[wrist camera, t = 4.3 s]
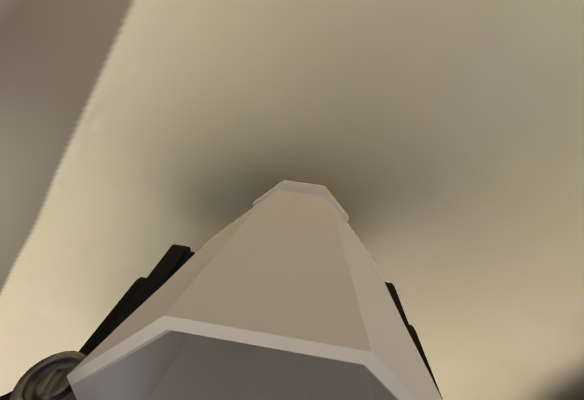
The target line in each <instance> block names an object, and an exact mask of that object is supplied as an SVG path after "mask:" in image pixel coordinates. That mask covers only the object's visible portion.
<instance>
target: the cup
mask: <svg viewBox="0 0 584 400" xmlns="http://www.w3.org/2000/svg"><path fill="white" fill-rule="evenodd" d="M348 221H349V217H348V214H347V213H346V212H345V211H344V209H343V208H342V207H341V206H340V204H339V203H338V202H337V201H336V199H335V198H334V197H333V196H332V194H331V193H330V192H329V191H328V189H327V188H326V187H325V186H324V185H317V184H310V183H303V182H296V181H288V180H283V181H281V182H280V183H279V184H277V185H276V186H274V187H273V188H272V189H270V190H269V191H268V192H266V193H265V194H264V195H262V196H261V197H259V198H258V199H257V200H255V201H254V202H253V204H252V209H250V210H249V211H247V212H246V213H245V214H243V215H242V216H241V217H239V218H238V219H236V220H235V221H234V222H232V223H231V224H229V225H228V226H227V227H225V228H224V229H223V230H221V231H220V232H218V233H217V234H216V235H214V236H213V237H212V238H211V239H210V240H208V241H207V242H206V243H205V244H204V245H203V246H202V247H201V248H200V249H199V250H198V251H197V252H196V253H195V254H194V255H193V256H192V257H191V258H190V259H189V260H188V261H187V262H186V263H185V264H184V265H183V266H182V267H181V268H180V269H179V270H178V271H177V272H176V273H175V274H174V275H173V276H172V277H171V278H170V279H169V280H168V281H167V282H165V283H164V284H163V285H162V286H161V287H160V288H159V289H158V290H157V291H156V292H155V293H154V294H153V295H151V296H150V297H149V298H148V299H147V300H146V301H145V302H144V303H143V304H142V305H141V306H140V307H139V308H137V309H136V310H135V311H134V312H133V313H132V314H131V315H130V316H129V317H128V318H127V319H126V320H125V321H123V322H122V323H121V324H120V325H119V326H118V327H117V328H116V329H115V330H114V331H113V332H112V333H111V334H110V335H109V336H108V337H107V338H106V339H105V340H104V341H103V342H102V343H101V344H100V345H99V346H97V347H96V348H95V349H94V350H93V351H92V352H91V353H90V354H89V355H88V356H87V357H86V358H85V359H84V360H83V361H82V362H81V363H80V364H79V365H78V366H77V367H76V368H75V369H74V370H73V371H71V372H70V373H69V374H68V375H67V378H68V381H69V383H70V385H71V387H72V390H73V392H74V394H75V396H76V399H77V400H442V398H441V396H440V394H439V392H438V390H437V388H436V386H435V384H434V382H433V379H432V377H431V375H430V373H429V371H428V369H427V367H426V366H425V364H424V362H423V360H422V358H421V356H420V354H419V352H418V350H417V348H416V346H415V344H414V342H413V340H412V338H411V336H410V334H409V332H408V330H407V328H406V326H405V324H404V322H403V320H402V318H401V316H400V314H399V312H398V310H397V307H396V305H395V303H394V301H393V299H392V297H391V295H390V293H389V291H388V289H387V286H386V284H385V282H384V280H383V278H382V276H381V274H380V272H379V270H378V267H377V265H376V263H375V262H374V260H373V259H372V257H371V256H370V254H369V253H368V251H367V250H366V249H365V247H364V246H363V244H362V243H361V241H360V240H359V238H358V237H357V235H356V234H355V232H354V231H353V230H352V228H351V227H350V226H349V225H348Z"/></svg>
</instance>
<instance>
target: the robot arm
mask: <svg viewBox="0 0 584 400" xmlns="http://www.w3.org/2000/svg"><path fill="white" fill-rule="evenodd" d="M194 254H195V253H194V252H191V250H190V247H186V246H181V245H175V244H174V245H172V246H171V247H170V249H169V250H168V251H167V253H166V254H165V255H164V256H163V258H162V259H161V260H160V262H159V263H158V264H157V266H156V267H155V268H154V270H153V271H152V272H151V273H150V275H149V276H148V277H147V278H143V277H141V278H139V279H137V280H136V281H135V282H134V284H133V285H132V286H131V287H130V289H129V290H128V291H127V292H126V294H125V295H124V296H123V297H122V299H121V300H120V301H119V302H118V304H117V305H116V306H115V307H114V308H113V310H112V311H111V312H110V313H109V315H108V316H107V317H106V318H105V320H104V321H103V322H102V323H101V325H100V326H99V327H98V328H97V329H96V331H95V332H94V333H93V334H92V336H91V337H90V338H89V339H88V341H87V342H86V343H85V344H84V346H83V347H82V348H81V349H80V351H79V352H77V351H65V352H61V353H58V354H54V355H52V356H49V357H47V358H45V359H43V360H41V361H40V362H38V363H37V364H36V365H34V366H33V367H31V368H30V369H29V370H28V371H27V372H26V373H25V374H24V375H23V376H22V377H21V378H20V380H19V381H18V383H17V384H16V386H15V388H14V390H13V391H12V392H10V393H7V394H5V395H3V396H1V397H0V400H77V399H76V396H75V394H74V392H73V390H72V387H71V385H70V383H69V381H68V378H67V375H68V374H69V373H70V372H71V371H73V370H74V369H75V368H76V367H77V366H78V365H79V364H80V363H81V362H82V361H83V360H84V359H85V358H86V357H87V356H88V355H89V354H90V353H91V352H92V351H93V350H94V349H95V348H96V347H97V346H99V345H100V344H101V343H102V342H103V341H104V340H105V339H106V338H107V337H108V336H109V335H110V334H111V333H112V332H113V331H114V330H115V329H116V328H117V327H118V326H119V325H120V324H121V323H122V322H123V321H125V320H126V319H127V318H128V317H129V316H130V315H131V314H132V313H133V312H134V311H135V310H136V309H137V308H139V307H140V306H141V305H142V304H143V303H144V302H145V301H146V300H147V299H148V298H149V297H150V296H151V295H153V294H154V293H155V292H156V291H157V290H158V289H159V288H160V287H161V286H162V285H163V284H164V283H165V282H167V281H168V280H169V279H170V278H171V277H172V276H173V275H174V274H175V273H176V272H177V271H178V270H179V269H180V268H181V267H182V266H183V265H184V264H185V263H186V262H187V261H188V260H189V259H190V258H191V257H192V256H193V255H194ZM385 284H386V286H387V289H388V291H389V293H390V295H391V297H392V299H393V301H394V303H395V305H396V307H397V310H398V312H399V314H400V316H401V318H402V320H403V322H404V324H405V326H406V328H407V330H408V332H409V334H410V336H411V338H412V340H413V342H414V344H415V346H416V348H417V350H418V352H419V354H420V356H421V358H422V360H423V362H424V364H425V366H426V367H427V369H428V371H429V373H430V375H431V377H432V379H433V382H434V384H435V386H436V388H437V390H438V392H439V389H438V387H437V384H436V382H435V379H434V377H433V374H432V371H431V369H430V366H429V364H428V361H427V359H426V356H425V354H424V351H423V349H422V346H421V344H420V341H419V339H418V336H417V333H416V331H415V329H414V327H413V326H411V325H409V324H408V321H407V319H406V316H405V313H404V311H403V308H402V305H401V303H400V300H399V298H398V295H397V292H396V290H395V287H394V285H393V284H392V283H386V282H385ZM439 394H440V392H439ZM440 396H441V394H440ZM441 398H442V397H441ZM442 400H443V399H442Z"/></svg>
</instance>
